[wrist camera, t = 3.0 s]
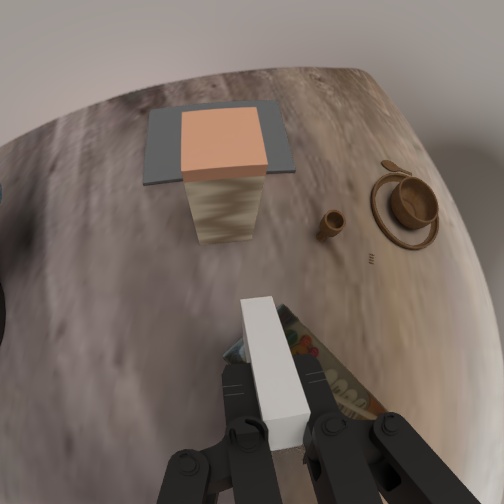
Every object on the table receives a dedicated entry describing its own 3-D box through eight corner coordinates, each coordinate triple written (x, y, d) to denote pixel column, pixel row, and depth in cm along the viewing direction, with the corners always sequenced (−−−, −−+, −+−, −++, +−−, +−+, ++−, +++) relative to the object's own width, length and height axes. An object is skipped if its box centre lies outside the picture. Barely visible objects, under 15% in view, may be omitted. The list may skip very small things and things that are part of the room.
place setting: (435, 279, 34) (461, 268, 29) (306, 252, 34) (321, 234, 29) (426, 178, 40) (445, 159, 35) (317, 142, 40) (328, 116, 34)
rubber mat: (143, 185, 35) (142, 183, 34) (150, 112, 39) (150, 110, 38) (294, 172, 37) (295, 170, 36) (276, 103, 41) (277, 100, 41)
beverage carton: (274, 306, 31) (286, 297, 25) (378, 414, 28) (407, 425, 22) (220, 354, 29) (218, 357, 23) (332, 461, 26) (354, 481, 20)
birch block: (199, 245, 33) (181, 171, 19) (197, 199, 35) (181, 112, 20) (251, 240, 33) (267, 164, 19) (245, 195, 35) (256, 106, 21)
